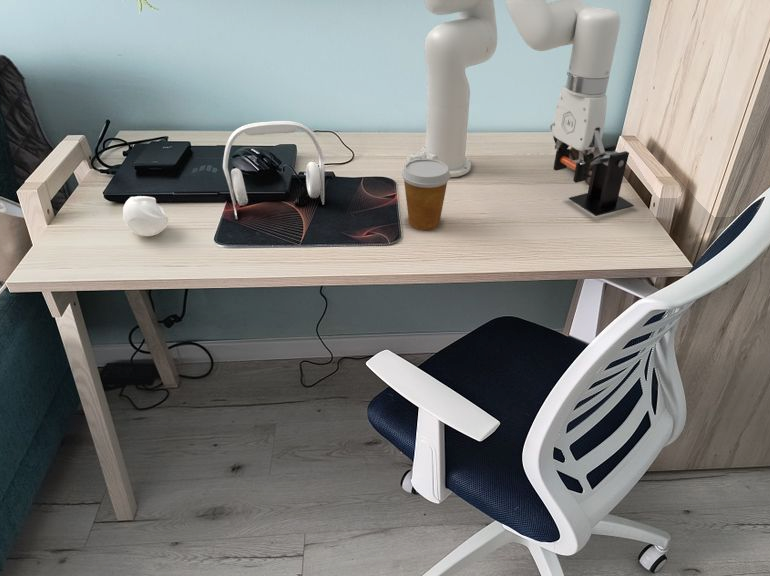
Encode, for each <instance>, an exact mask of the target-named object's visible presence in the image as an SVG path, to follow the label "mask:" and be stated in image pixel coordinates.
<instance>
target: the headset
mask: <svg viewBox="0 0 770 576" xmlns="http://www.w3.org/2000/svg"><path fill="white" fill-rule="evenodd" d="M298 129H299V130H301V131H302V132H304V133H306V134H307V135H308V136H309V138H310V139H311V140H312V142H313V144H314V146H315V149H316V151H317V154H318V164H317V163H316V162H315V161H310V162H308V163H307V165H306V169H305V182H306V183H305V184H306V190H307V193H308V196H309V198H311V199H317V198H319V197H320V200H321V203H322V205H325V157H324V154H323V151H322V147H321V145H320V143H319V141H318V139H317V137H316V135H315V134H314V133H313V131H312V130H311V128H309V127H307V126H306V125H304V123H303V124H302V123H300V122H296V121H291V120H289V121H288V120H274V121H260V122H253V123H248V124H245V125H242V126H240V127H238V128H236V129H235V130H234V131H233V132H232V133H231V134H230V136H229V138H228V140H227V142H226V144H225V147H224V152H223V153H224V154H223V159H222V170H223V173H224V176H225V178H226V183H227V186H228V190H229V193H230V197H231V201H232V205H233V210H234V216H235V219H236V220H238V213H237V212H238V211H237V207H236V206H237V204H238V205H239V206H243V207H244V206H247V204H248V203H249V199H248V195H247V194H248V193H247V189H246V185H245V181H244V177H243V172H242V170H241V169H239V168H232V169H231V171H230V172H229V168H228V167H229V159H230V158H229V157H230V153H231V150H232V149H231V148H232V146H233V144H234V142H235V141H236V139H237V138H238V137H239V136H240V135H242V134H243V133H244V134H246V135H248V136H262V135H263V136H264V135H274V134H293V133H295V132H297V130H298ZM236 201H237V203H236Z"/></svg>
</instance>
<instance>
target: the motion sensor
mask: <svg viewBox="0 0 770 576" xmlns="http://www.w3.org/2000/svg"><path fill="white" fill-rule="evenodd" d="M122 218H123V221H124V223H125V225H126V226H127V227H128V229H129V230H130V231H131V232H133V233H134V234H136V235H138V236H142V237H152V236H156V235H158V234H160V233H162V232H163V231H164V230H165V229H166V228H167V227H168V222H169V216H168V215H167V213H166V211H165V209H164V208H163V207H162V206H161V205H159V204H158V202H157V199H156V198H155V197H153V196H147V195H146V196H145V195H143V196H142V195H137V196H130V197H129V198H128V199H127V200H126V201H125V203H124V205H123V207H122Z"/></svg>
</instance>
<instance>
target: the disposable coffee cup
mask: <svg viewBox="0 0 770 576" xmlns="http://www.w3.org/2000/svg"><path fill="white" fill-rule="evenodd" d="M401 177H402V179H403V182H404V183H403V184H404V191H405V201H406V210H407V215H408V216H407V217H408V218H407V219H408V224H409V226H410V227H411V228H413V229H415V230H420V231H430V230H434V229H436V228H438V227H439V226H440V221H441V217H442V212H443V206H444V202H445V195H446V192H447V187H448V182H449V180H450V178H451V177H450V172H449V170H448V166H447V165H446V164H445V163H443V162H441V161H438V160H434V159H415V160H411V161H409V162H407V161H406V163H405V164H404V166H403V169H402V171H401Z"/></svg>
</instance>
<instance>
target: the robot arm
mask: <svg viewBox="0 0 770 576" xmlns="http://www.w3.org/2000/svg"><path fill="white" fill-rule="evenodd" d="M423 1H424V5H425V7H426V9H427V10H428V11H429V13H431V14H433V15H435V16H436V15H437V16H447V15H451V14H457V13H458V19H455V20H449V21H446V22H445V21H444V22H443V23H440V24H438V25H435V27H433V28H432V29H431V30H430V31H429V32H428V34H427V35H426V37H425V40H424V47H423V50H424V53H423V54H424V59H425V67H426V76H427V77H426V78H427V80H426V81H427V83H426V85H427V88H426V90H427V91H426V92H427V93H426V122H425V123H426V124H425V146H423V147H422V146H421V148H420V151H419V152H418V153H416V154H409V155H407V156H406V158H405V159H406V163H407V162H409V161H411V160H415V159H434V160H438V161H441V162H443V163H445V164H446V165H447V166H448V170H449V172H450V178H457V177H461V176H464V175H466V174H468V173H469V172H470V171H471V169H472V162H471V160H470V159H469V158H468V157H466V150H467V139H468V138H467V137H468V128H469V127H468V126H469V115H470V113H469V112H470V111H469V110H470V99H471V89H470V84H469V80H468V77H467V74H466V69H467V68H470V67H473V66H476V65H480V64H483V63H485V62H487V61H489V60H491V58H492V57H493V56H494V54H495V52H496V50H497V46H498V26H497V17H496V9H495V1H494V0H423ZM504 1H505V5H506V8H507V12H508V13H509V16H510V18H511V20H512V22H513V24H514V26H515V28H516V30H517V32H518V34H519V35H520V36H521V38H522V41H524V42H525V44H526V45H527V46H528V47H530V48H531V49H533V50H535V51H539V52H545V51H549V50H553V49H556V48H559V47H564V46H569V45H572V47H571V54H570V59H569V66H568V70H567V72H566V76H567V78H566V82H565V83H566V84H564V85H563V86H562V89H561V91H560V94H559V96H558V100H557V103H556V107H555V111H554V115H553V120H552V123H551V125H550V127H549V128H550V130H551V131H550V132H551V134H552V138H553V142H554V150H555V157H554V164H553V167H552V168H553V170H554V171H560V170H565V169H567V168H568V166H566V165H565V164H563V163H561V162H560V158H561V157H562V156H566V157H567V158H569V154H570V148H571V147H573V148H575V149H576V150H579V163H577V164H576V168H575V172H574V173H573V178H572V181H573V183H575V184H578V183H582V182H585V181H586V180H587V177H588V174H590V173H589V172H590V170H589V168H590V163H592V162H593V161H594V160H595V159H597V158H598V157H600V156H601V155H603V154H604V153H605V150H604V147H603V146H604V144H603V141H602V139H603V134H604V130H605V129H604V128H605V124H606V117H607V116H606V115H607V102H608V99H607V98H608V95H606V94H607V90H608V85H609V79H610V75H611V69H612V65H613V60H614V55H615V51H616V46H617V41H618V36H619V32H620V28H621V27H620V26H621V16H620V13H618V12H617V11H615V10H614V9H611V8H606V7H597V6H592V5H591V4H588V3H586V2H584V1H582V0H555V1H550V2H547V0H504ZM585 150H587V152H588V155H586V156H585Z"/></svg>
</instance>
